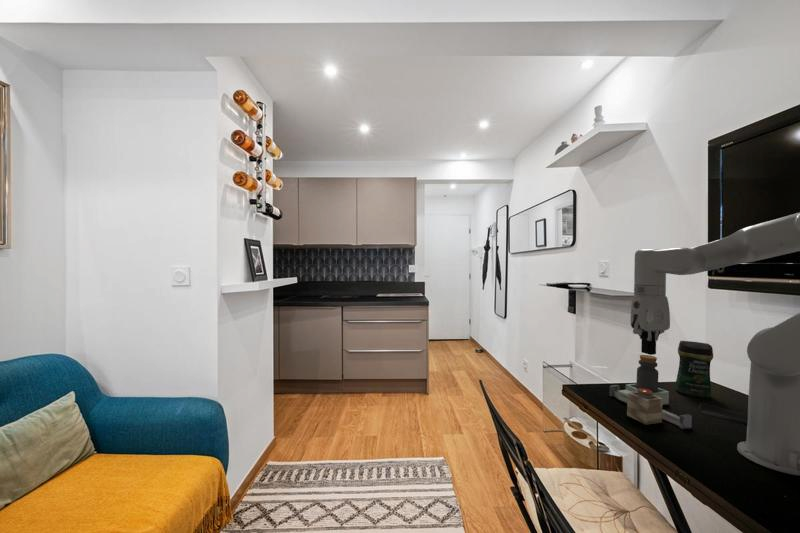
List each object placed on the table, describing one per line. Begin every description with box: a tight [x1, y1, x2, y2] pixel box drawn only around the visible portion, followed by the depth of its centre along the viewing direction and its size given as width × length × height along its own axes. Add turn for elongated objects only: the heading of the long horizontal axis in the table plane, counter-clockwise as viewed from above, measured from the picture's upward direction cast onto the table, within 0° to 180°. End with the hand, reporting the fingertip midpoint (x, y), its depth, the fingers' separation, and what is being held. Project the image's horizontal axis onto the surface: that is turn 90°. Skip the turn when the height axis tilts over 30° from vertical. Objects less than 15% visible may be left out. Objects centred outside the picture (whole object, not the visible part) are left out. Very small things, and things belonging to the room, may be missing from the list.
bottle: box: [635, 354, 659, 393], centre depth 115 cm, size 6×6×15 cm
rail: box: [608, 384, 693, 430], centre depth 108 cm, size 24×3×4 cm, turn 16°
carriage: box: [617, 383, 670, 406], centre depth 115 cm, size 8×13×4 cm, turn 106°
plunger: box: [637, 388, 653, 399], centre depth 102 cm, size 4×4×5 cm
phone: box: [697, 402, 748, 425], centre depth 105 cm, size 8×1×15 cm
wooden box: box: [626, 391, 663, 425], centre depth 102 cm, size 6×6×7 cm
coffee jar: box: [674, 340, 714, 399], centre depth 122 cm, size 10×8×19 cm
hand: (648, 353), depth 101 cm, fingers closed
